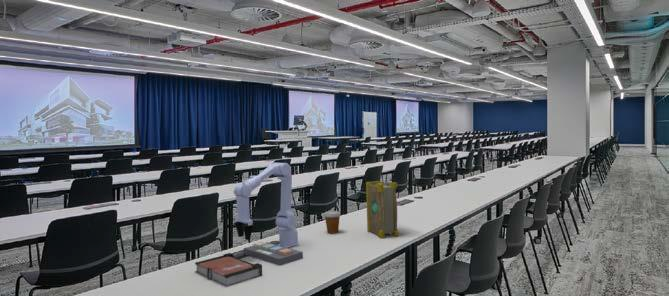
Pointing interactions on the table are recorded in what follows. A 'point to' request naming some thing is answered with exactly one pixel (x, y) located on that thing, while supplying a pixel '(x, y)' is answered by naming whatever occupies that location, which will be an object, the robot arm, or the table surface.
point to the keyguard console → (273, 255)
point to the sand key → (259, 244)
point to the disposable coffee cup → (332, 221)
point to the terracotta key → (285, 252)
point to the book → (228, 269)
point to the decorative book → (381, 208)
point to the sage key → (267, 247)
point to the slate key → (275, 249)
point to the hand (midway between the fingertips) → (244, 238)
